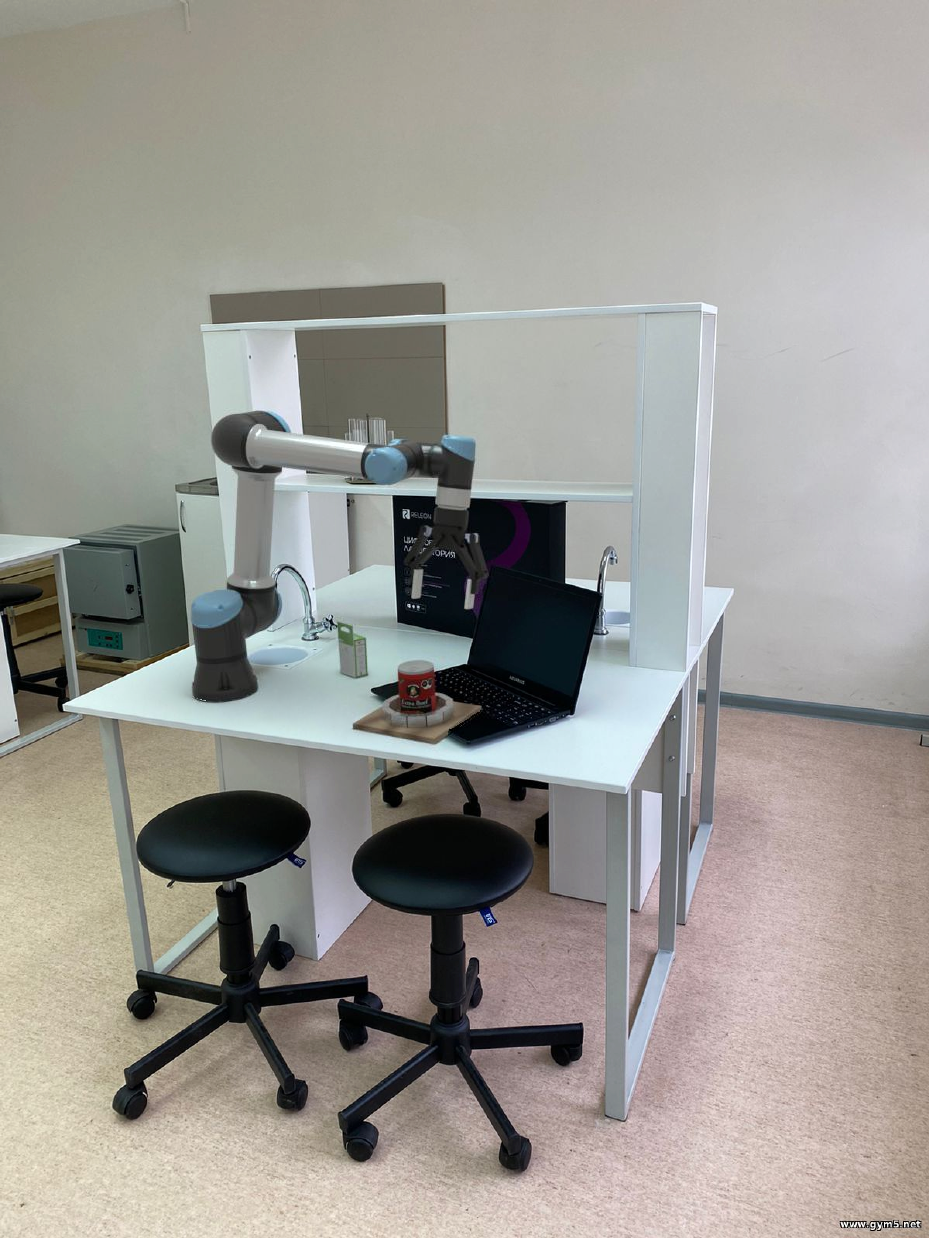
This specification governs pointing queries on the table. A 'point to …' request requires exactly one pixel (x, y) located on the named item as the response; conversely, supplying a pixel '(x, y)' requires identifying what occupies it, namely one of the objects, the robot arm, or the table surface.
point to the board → (427, 735)
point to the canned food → (416, 687)
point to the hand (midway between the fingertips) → (441, 603)
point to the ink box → (352, 652)
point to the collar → (417, 719)
